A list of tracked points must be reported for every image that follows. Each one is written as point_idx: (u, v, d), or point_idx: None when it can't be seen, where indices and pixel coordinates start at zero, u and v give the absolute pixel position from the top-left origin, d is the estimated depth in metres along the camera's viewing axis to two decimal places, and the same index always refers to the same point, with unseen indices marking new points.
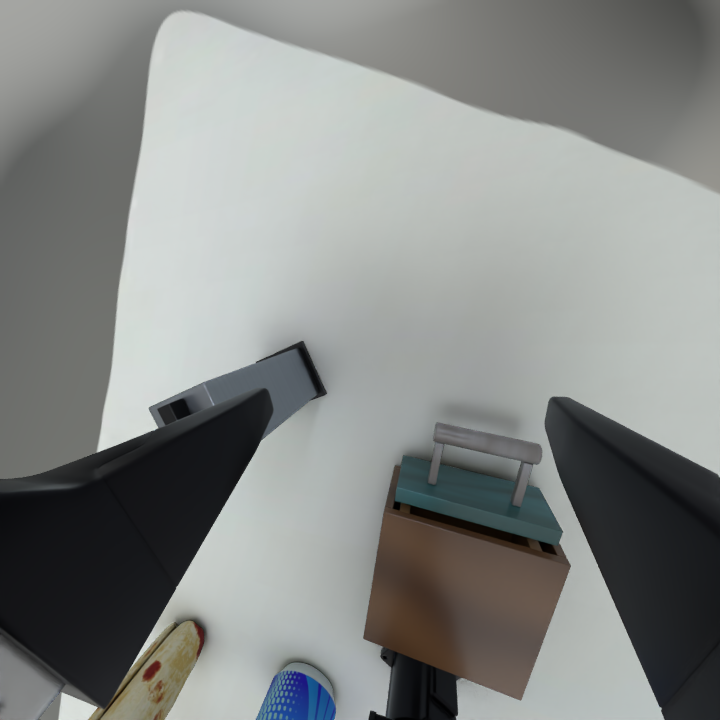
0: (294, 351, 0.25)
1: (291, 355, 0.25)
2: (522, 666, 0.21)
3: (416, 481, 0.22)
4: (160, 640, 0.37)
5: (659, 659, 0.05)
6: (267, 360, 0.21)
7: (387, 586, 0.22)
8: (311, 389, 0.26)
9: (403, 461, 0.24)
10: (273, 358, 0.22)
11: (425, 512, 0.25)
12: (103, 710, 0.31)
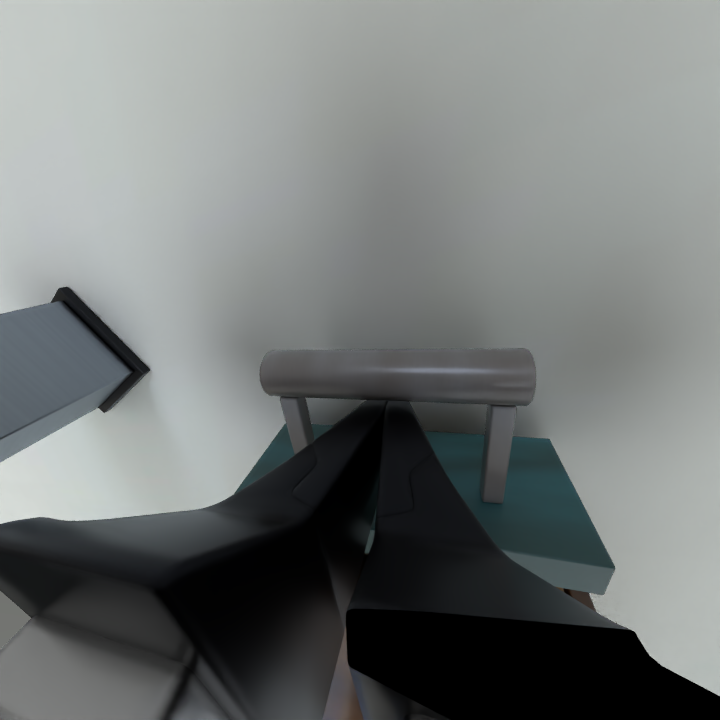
0: (37, 309, 0.13)
1: (22, 318, 0.13)
2: None
3: None
4: None
5: None
6: None
7: None
8: (101, 370, 0.14)
9: (277, 436, 0.13)
10: None
11: None
12: None
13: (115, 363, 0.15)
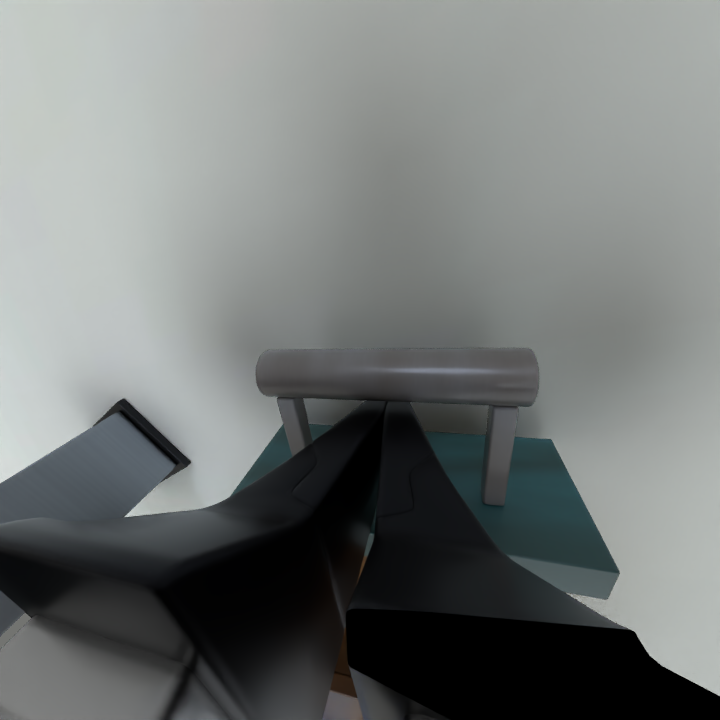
0: (102, 424, 0.16)
1: (91, 437, 0.15)
2: None
3: None
4: None
5: None
6: None
7: None
8: (153, 471, 0.17)
9: (275, 436, 0.12)
10: (23, 472, 0.13)
11: None
12: None
13: (163, 461, 0.17)
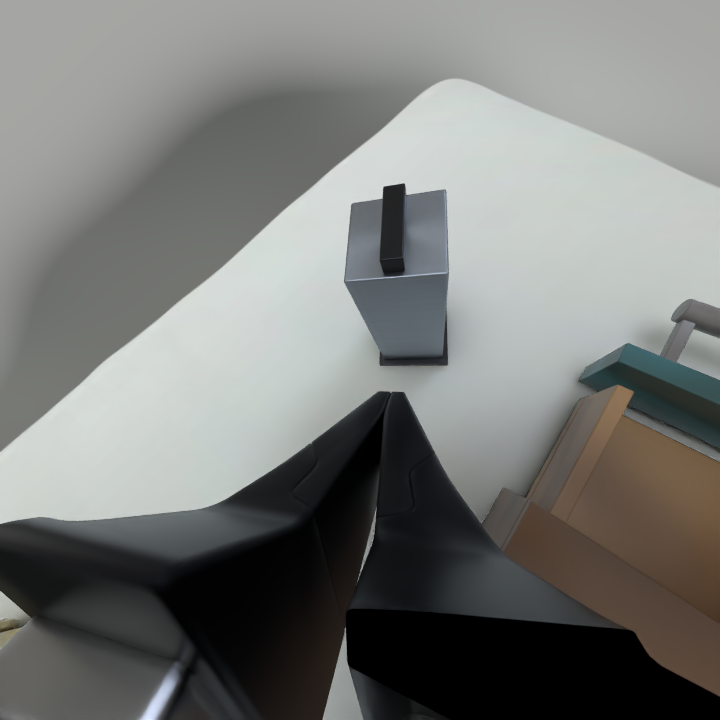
0: None
1: None
2: None
3: None
4: None
5: None
6: None
7: None
8: None
9: (595, 363, 0.19)
10: None
11: (609, 444, 0.17)
12: None
13: None
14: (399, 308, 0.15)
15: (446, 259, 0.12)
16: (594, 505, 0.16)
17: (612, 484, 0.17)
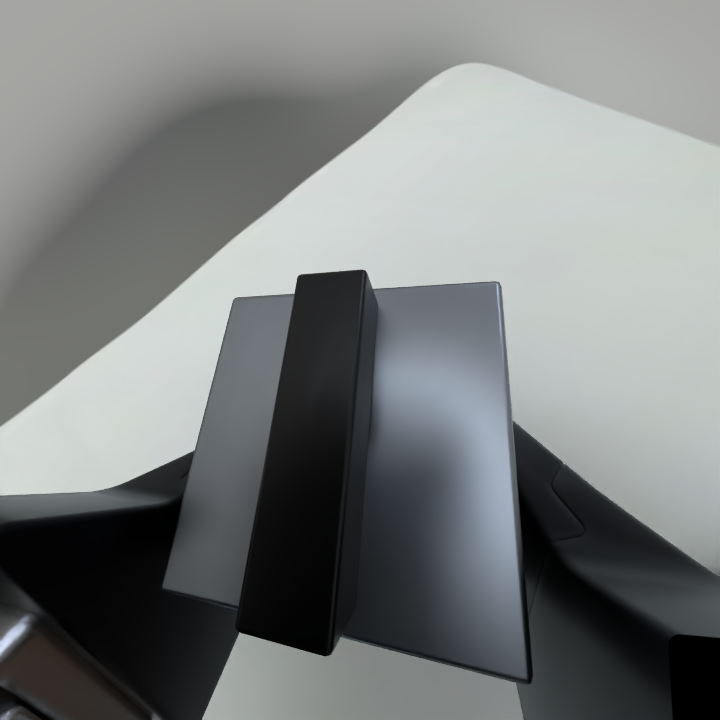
0: None
1: None
2: None
3: None
4: None
5: None
6: None
7: None
8: None
9: None
10: None
11: None
12: None
13: None
14: None
15: (520, 597, 0.03)
16: None
17: None
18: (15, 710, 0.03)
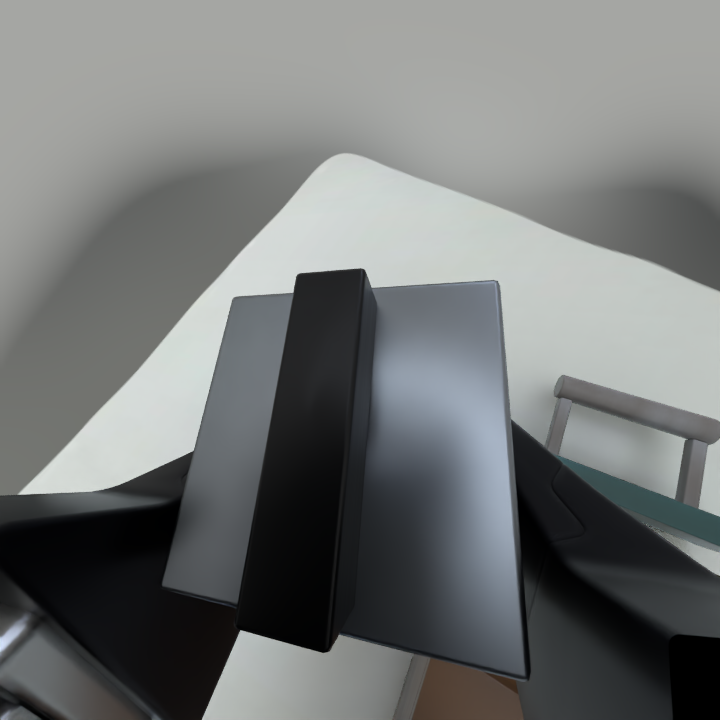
0: None
1: None
2: None
3: None
4: None
5: None
6: None
7: None
8: None
9: None
10: None
11: None
12: None
13: None
14: None
15: (518, 594, 0.03)
16: None
17: None
18: (15, 710, 0.03)
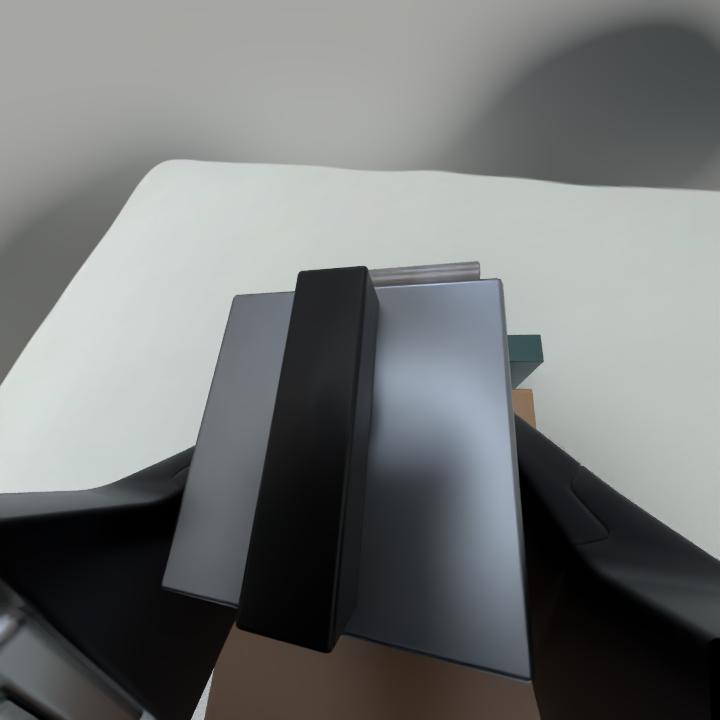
0: None
1: None
2: None
3: None
4: None
5: None
6: None
7: None
8: None
9: None
10: None
11: None
12: None
13: None
14: None
15: (522, 594, 0.03)
16: None
17: None
18: (3, 704, 0.03)
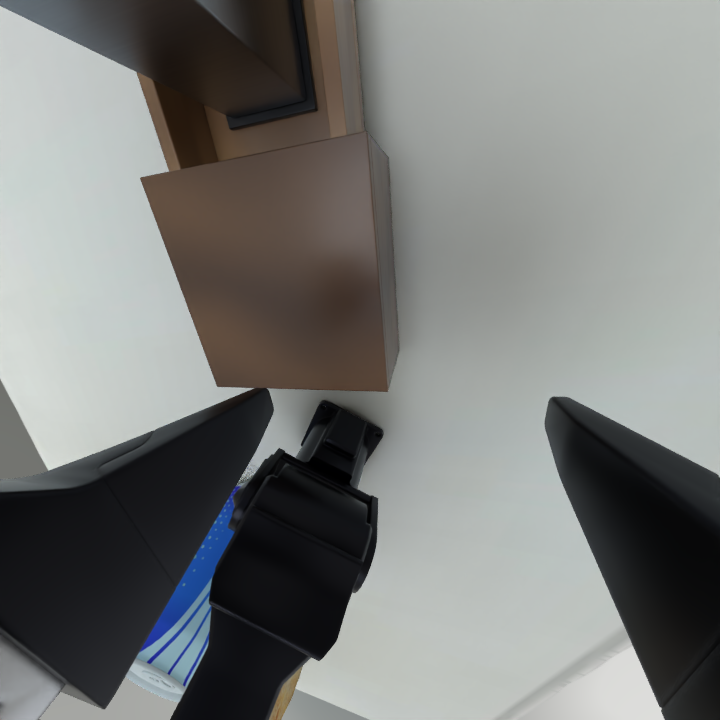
0: None
1: None
2: (371, 341, 0.16)
3: None
4: None
5: (659, 659, 0.05)
6: None
7: (200, 299, 0.17)
8: (295, 73, 0.14)
9: None
10: None
11: None
12: None
13: (301, 78, 0.14)
14: (113, 12, 0.08)
15: None
16: (242, 133, 0.17)
17: None
18: None
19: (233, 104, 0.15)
